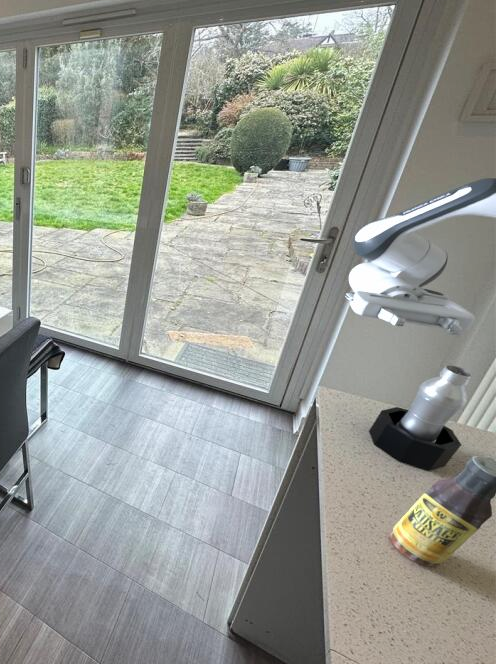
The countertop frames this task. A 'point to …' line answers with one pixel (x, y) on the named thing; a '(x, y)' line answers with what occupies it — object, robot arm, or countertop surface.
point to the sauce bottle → (447, 514)
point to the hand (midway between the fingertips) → (428, 327)
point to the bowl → (412, 442)
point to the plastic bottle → (436, 403)
